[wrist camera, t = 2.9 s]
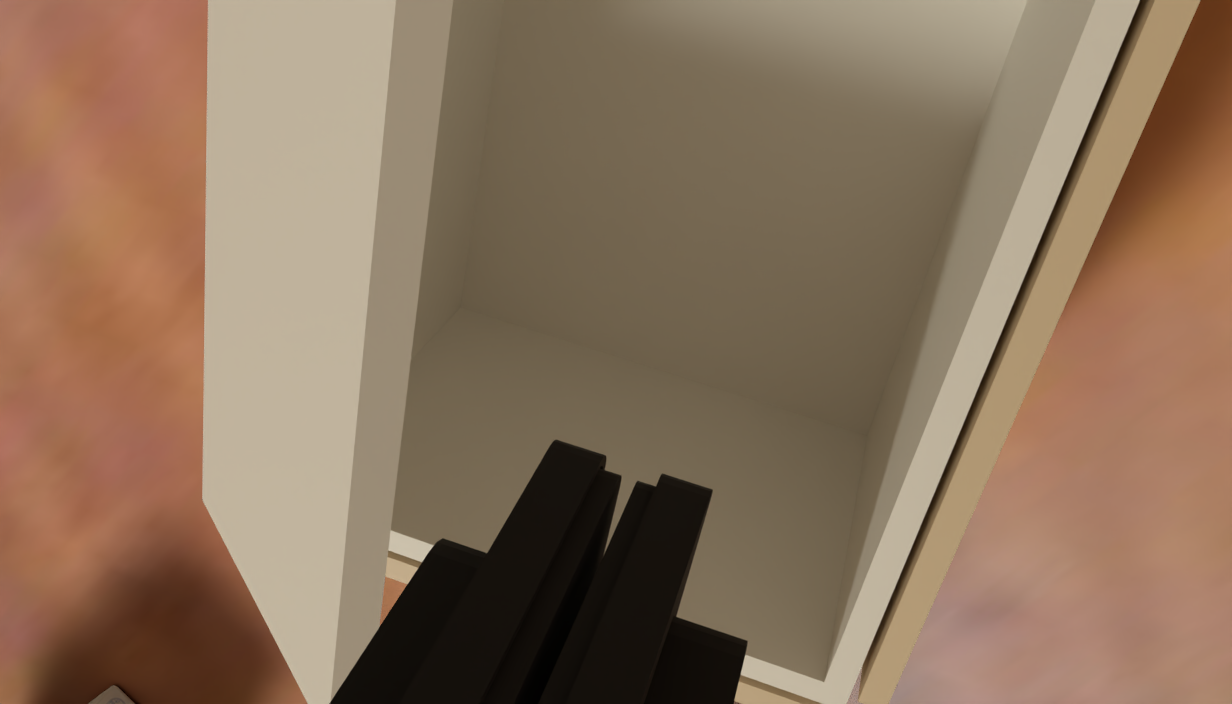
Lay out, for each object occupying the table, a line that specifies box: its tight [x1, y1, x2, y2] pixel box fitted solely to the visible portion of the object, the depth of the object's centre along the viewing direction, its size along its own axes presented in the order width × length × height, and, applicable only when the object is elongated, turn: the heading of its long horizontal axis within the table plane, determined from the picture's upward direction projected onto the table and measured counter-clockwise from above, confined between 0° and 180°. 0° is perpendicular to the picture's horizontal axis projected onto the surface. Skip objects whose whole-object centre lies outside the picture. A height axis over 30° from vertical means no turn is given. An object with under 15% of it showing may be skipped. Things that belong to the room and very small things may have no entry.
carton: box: [385, 0, 1200, 704], centre depth 26 cm, size 15×22×11 cm
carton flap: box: [202, 0, 453, 704], centre depth 19 cm, size 7×19×1 cm
